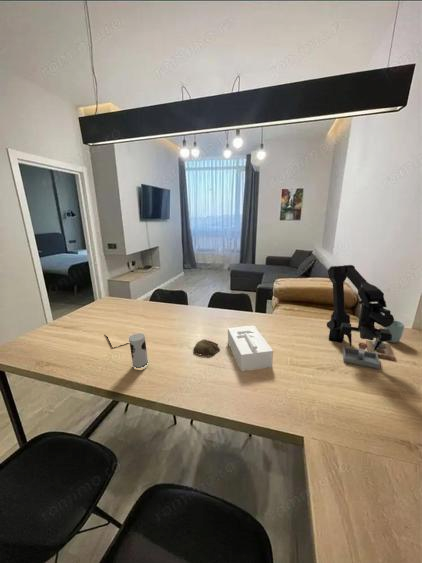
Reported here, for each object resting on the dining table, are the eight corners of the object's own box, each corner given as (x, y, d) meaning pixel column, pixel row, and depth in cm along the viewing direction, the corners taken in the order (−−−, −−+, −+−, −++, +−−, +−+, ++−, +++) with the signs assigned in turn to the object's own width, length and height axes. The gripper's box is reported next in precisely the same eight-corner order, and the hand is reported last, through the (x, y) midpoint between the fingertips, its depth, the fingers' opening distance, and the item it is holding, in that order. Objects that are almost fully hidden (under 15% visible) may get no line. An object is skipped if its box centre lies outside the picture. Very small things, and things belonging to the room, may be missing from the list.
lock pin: (356, 359, 110) (359, 345, 107) (355, 356, 112) (358, 342, 110) (364, 361, 108) (367, 347, 106) (363, 357, 111) (366, 343, 109)
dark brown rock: (190, 353, 121) (189, 344, 120) (202, 341, 131) (201, 333, 130) (212, 359, 115) (212, 350, 114) (223, 346, 126) (223, 338, 124)
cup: (403, 345, 121) (407, 327, 118) (386, 343, 123) (389, 326, 120) (395, 337, 128) (399, 320, 126) (379, 336, 130) (382, 319, 127)
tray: (343, 362, 109) (344, 357, 109) (342, 351, 118) (343, 346, 117) (379, 369, 104) (380, 364, 103) (375, 357, 112) (376, 353, 111)
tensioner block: (368, 355, 114) (369, 350, 113) (365, 342, 124) (366, 338, 124) (394, 360, 110) (395, 355, 109) (389, 346, 120) (390, 342, 119)
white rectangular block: (253, 339, 132) (254, 321, 128) (272, 367, 108) (273, 346, 105) (227, 342, 129) (227, 324, 126) (241, 371, 106) (241, 350, 103)
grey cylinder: (149, 361, 115) (146, 333, 110) (146, 370, 108) (142, 340, 104) (135, 361, 115) (131, 333, 111) (131, 370, 108) (126, 341, 104)
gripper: (343, 320, 101) (339, 352, 106) (398, 328, 93) (390, 363, 98) (342, 310, 111) (338, 340, 115) (392, 317, 103) (385, 349, 107)
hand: (362, 348), depth 109 cm, fingers open, 9 cm apart
